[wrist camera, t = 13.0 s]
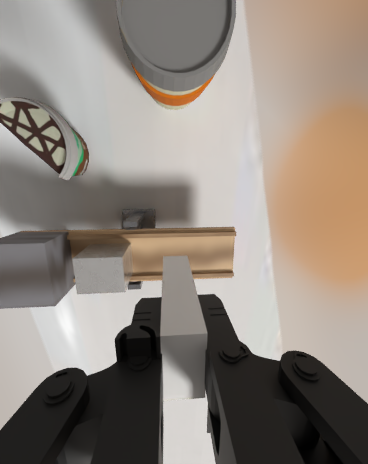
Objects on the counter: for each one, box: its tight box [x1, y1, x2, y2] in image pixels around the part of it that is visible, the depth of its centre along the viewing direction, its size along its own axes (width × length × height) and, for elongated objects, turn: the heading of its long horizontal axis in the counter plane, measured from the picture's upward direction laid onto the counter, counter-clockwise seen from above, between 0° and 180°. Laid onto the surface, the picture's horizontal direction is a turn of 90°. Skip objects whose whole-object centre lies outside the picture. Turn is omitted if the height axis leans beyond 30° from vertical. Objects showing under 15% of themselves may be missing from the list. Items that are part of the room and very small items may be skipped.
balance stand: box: [122, 209, 155, 289], centre depth 36 cm, size 12×18×10 cm, turn 90°
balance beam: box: [0, 227, 236, 309], centre depth 29 cm, size 9×32×8 cm, turn 90°
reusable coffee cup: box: [116, 0, 236, 110], centre depth 28 cm, size 13×13×15 cm
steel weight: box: [72, 243, 133, 294], centre depth 28 cm, size 5×6×6 cm
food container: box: [0, 97, 89, 180], centre depth 31 cm, size 12×6×10 cm, turn 45°
